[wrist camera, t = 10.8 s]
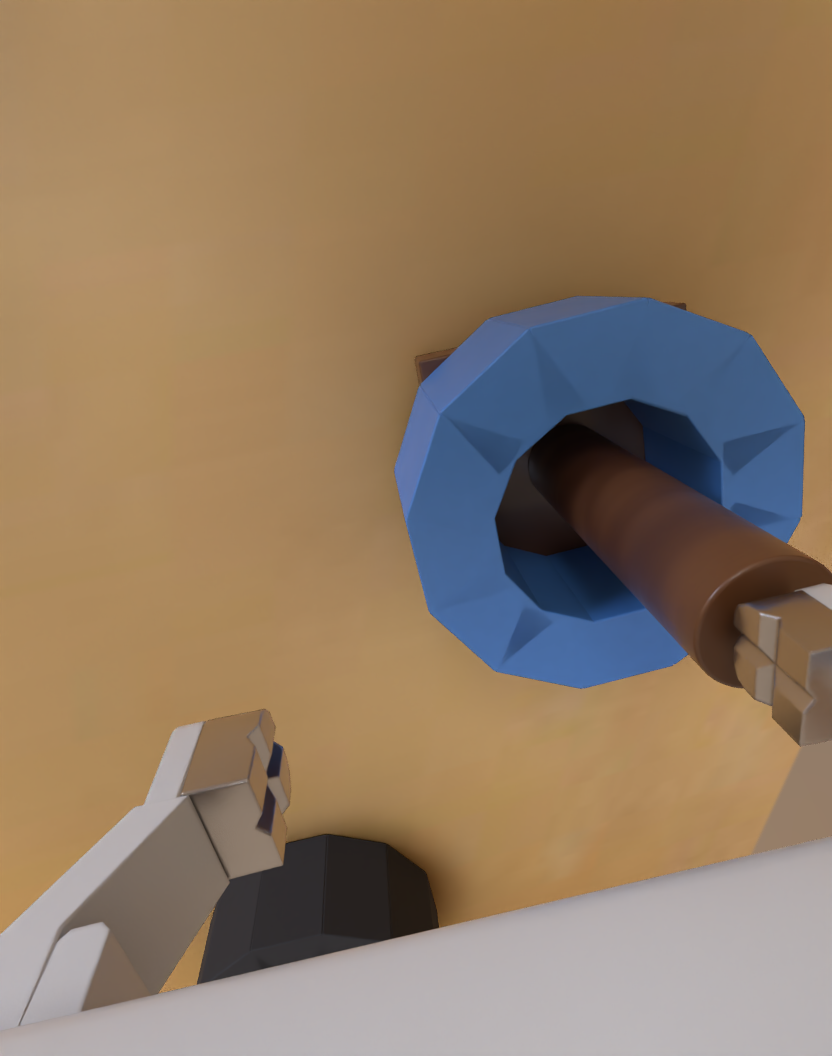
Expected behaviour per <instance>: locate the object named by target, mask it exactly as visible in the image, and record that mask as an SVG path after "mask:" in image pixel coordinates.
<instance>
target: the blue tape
mask: <svg viewBox="0 0 832 1056" xmlns="http://www.w3.org/2000/svg"><path fill="white" fill-rule="evenodd" d="M622 401H624V402H625V404H626V405H627V406H628V407H629V409H630V410H631V411H632V413H633V414H634V415H635V416H636V418H637V419H638V420H639V422H640V423H641V424H642V426H643V436H644V448H645V461H646V462H648V463H650V464H651V465H653V466H655V467H657V468H658V469H660V470H662V471H663V472H665V473H667V474H669V475H670V476H672V477H674V478H675V479H677V480H679V481H681V482H682V483H684V484H686V485H687V486H689V487H691V488H693V489H694V490H696V491H698V492H699V493H701V494H703V495H705V496H706V497H708V498H710V499H711V500H713V501H715V502H717V503H718V504H720V505H722V506H723V507H725V508H727V509H729V510H730V511H732V512H734V513H735V514H737V515H739V516H741V517H742V518H744V519H746V520H747V521H749V522H751V523H752V524H754V525H756V526H758V527H759V528H761V529H763V530H764V531H766V532H768V533H770V534H771V535H773V536H775V537H776V538H778V539H780V540H782V541H783V542H785V543H788V541H789V539H790V537H791V536H792V534H793V532H794V530H795V529H796V527H797V525H798V523H799V521H800V517H802V497H803V464H804V432H805V420H804V416H803V414H802V413H801V411H800V409H799V408H798V406H797V405H796V403H795V402H794V400H793V398H792V397H791V395H790V394H789V392H788V391H787V389H786V388H785V386H784V384H783V383H782V381H781V380H780V378H779V377H778V375H777V374H776V372H775V370H774V369H773V367H772V366H771V364H770V363H769V361H768V359H767V358H766V356H765V355H764V353H763V352H762V350H761V349H760V347H759V345H758V344H757V342H756V341H755V339H754V338H753V336H752V335H751V334H748V333H747V332H745V331H742V330H739V329H736V328H733V327H731V326H728V325H725V324H722V323H719V322H717V321H714V320H711V319H708V318H705V317H702V316H700V315H697V314H694V313H691V312H688V311H686V310H683V309H680V308H677V307H674V306H671V305H669V304H666V303H663V302H660V301H657V300H655V299H652V298H645V297H604V296H575V297H571V298H567V299H563V300H559V301H555V302H551V303H547V304H543V305H539V306H535V307H531V308H527V309H523V310H520V311H516V312H512V313H508V314H504V315H500V316H496V317H492V318H489V320H486V321H485V322H484V323H483V324H482V325H481V326H480V327H479V328H478V329H477V330H476V331H475V332H474V333H473V334H472V335H470V336H469V337H468V338H467V339H466V340H465V341H464V342H463V343H462V344H461V345H460V346H459V347H458V348H457V349H456V350H455V351H454V352H453V353H452V354H451V355H450V356H449V357H448V358H447V359H446V360H445V361H444V362H443V363H442V364H441V365H440V366H439V367H438V368H437V369H436V370H434V371H433V372H432V373H431V374H430V375H429V376H428V377H427V378H426V379H425V380H424V381H423V382H422V383H421V385H420V386H419V388H418V391H417V395H416V398H415V401H414V405H413V408H412V411H411V415H410V418H409V422H408V425H407V428H406V432H405V435H404V438H403V442H402V445H401V449H400V452H399V455H398V459H397V462H396V465H395V471H394V473H395V477H396V482H397V486H398V491H399V495H400V500H401V504H402V508H403V513H404V517H405V522H406V526H407V529H408V533H409V537H410V541H411V545H412V549H413V552H414V556H415V560H416V564H417V568H418V572H419V576H420V579H421V583H422V587H423V591H424V595H425V599H426V603H427V606H428V610H429V612H430V614H431V615H432V616H434V617H435V618H436V619H437V620H438V621H439V622H440V623H441V624H443V625H444V626H445V627H446V628H447V629H448V630H449V631H450V632H451V633H453V634H454V635H455V636H456V637H457V638H458V639H459V640H460V641H462V642H463V643H464V644H465V645H466V646H467V647H468V648H469V649H470V650H472V651H473V652H474V653H475V654H476V655H477V656H478V657H479V658H481V659H482V660H483V661H484V662H485V663H486V664H487V665H488V666H489V667H491V668H492V669H493V670H494V671H496V672H500V673H505V674H510V675H515V676H520V677H525V678H530V679H535V680H540V681H545V682H550V683H555V684H560V685H565V686H570V687H575V688H580V689H582V688H588V687H592V686H596V685H599V684H603V683H607V682H611V681H615V680H619V679H623V678H627V677H631V676H635V675H639V674H642V673H646V672H650V671H654V670H658V669H662V668H666V667H670V666H672V665H673V664H676V663H678V662H679V661H680V660H682V659H683V658H684V657H685V656H687V655H688V653H687V652H686V651H685V650H684V649H683V648H682V647H681V646H680V645H679V644H678V642H677V641H676V640H675V639H674V638H673V637H672V636H671V635H670V634H669V633H668V632H667V631H666V629H665V628H664V627H663V626H662V625H661V624H660V623H659V622H658V621H657V620H656V619H655V618H654V616H653V615H652V614H651V613H650V612H649V611H648V610H647V609H646V608H645V607H644V606H643V604H642V603H641V602H640V601H639V600H638V599H637V598H636V597H635V596H634V595H633V594H632V593H631V591H630V590H629V589H628V588H627V587H626V586H625V585H624V584H623V583H622V582H621V581H620V580H619V578H618V577H617V576H616V575H615V574H614V573H613V572H612V571H611V570H610V569H609V568H608V566H607V565H606V564H605V563H604V562H603V561H602V560H601V559H600V558H599V557H598V556H597V555H596V553H595V552H594V551H593V550H592V549H591V548H590V547H589V546H584V547H580V548H576V549H572V550H568V551H564V552H560V553H556V554H553V555H549V556H544V555H540V554H536V553H532V552H528V551H524V550H520V549H516V548H512V547H508V546H504V545H503V544H502V543H501V542H500V541H499V537H498V532H497V527H496V522H495V517H496V514H497V512H498V509H499V506H500V503H501V501H502V498H503V495H504V493H505V490H506V487H507V484H508V482H509V479H510V476H511V474H512V471H513V468H514V465H515V463H516V460H518V459H519V458H520V457H521V456H522V455H523V454H524V453H525V452H526V451H528V450H529V449H530V448H531V447H532V446H533V445H534V444H535V443H536V442H538V441H539V440H540V439H541V438H542V437H543V436H544V435H545V434H546V433H548V432H549V431H550V430H551V429H552V428H553V427H554V426H555V425H556V424H558V423H559V422H560V421H561V420H562V419H563V418H564V417H565V416H567V415H571V414H575V413H579V412H582V411H586V410H590V409H594V408H598V407H602V406H606V405H610V404H614V403H618V402H622Z"/></svg>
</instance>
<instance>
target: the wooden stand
mask: <svg viewBox="0 0 832 1056" xmlns="http://www.w3.org/2000/svg"><path fill="white" fill-rule="evenodd" d="M663 303H666V304H669V305H671V306H674V307H677V308H680V309H683V310H686V304H685V303H675V302H663ZM457 348H458V347H456V348H452V349H447V350H443V351H438V352H433V353H429V354H424V355H420V356H416V357H415V359H414V360H415V366H416V371H417V376H418V381H419V386H420V385H421V383H422V382H423V381H424V380H425V379H426V378H427V377H428V376H429V375H430V374H431V373H432V372H433V371H434V370H436V369H437V368H438V367H439V366H440V365H441V364H442V363H443V362H444V361H445V360H446V359H447V358H448V357H449V356H450V355H451V354H452V353H453V352H454V351H455V350H456V349H457ZM495 522H496V527H497V532H498V537H499V541H500V542H501V543H502V544H503V545H504V546H508V547H512V548H516V549H520V550H524V551H528V552H532V553H536V554H540V555H544V556H549V555H553V554H556V553H560V552H564V551H568V550H572V549H576V548H580V547H584V546H589V547H590V548H591V549H592V550H593V551H594V552H595V553H596V555H597V556H598V557H599V558H600V559H601V560H602V561H603V562H604V563H605V564H606V565H607V566H608V568H609V569H610V570H611V571H612V572H613V573H614V574H615V575H616V576H617V577H618V578H619V580H620V581H621V582H622V583H623V584H624V585H625V586H626V587H627V588H628V589H629V590H630V591H631V593H632V594H633V595H634V596H635V597H636V598H637V599H638V600H639V601H640V602H641V603H642V604H643V606H644V607H645V608H646V609H647V610H648V611H649V612H650V613H651V614H652V615H653V616H654V618H655V619H656V620H657V621H658V622H659V623H660V624H661V625H662V626H663V627H664V628H665V629H666V631H667V632H668V633H669V634H670V635H671V636H672V637H673V638H674V639H675V640H676V641H677V642H678V644H679V645H680V646H681V647H682V648H683V649H684V650H685V651H686V652H687V653H688V654H689V656H690V657H691V658H692V659H693V660H694V661H695V662H696V663H697V664H698V665H699V666H700V667H701V669H702V670H703V671H704V672H705V673H706V674H707V675H708V676H710V677H711V678H713V679H714V680H716V681H718V682H720V683H722V684H725V685H728V686H731V687H736V688H744V687H743V686H742V684H741V683H740V681H739V679H738V678H737V675H736V672H735V668H734V665H733V645H734V644H735V642H736V641H737V639H738V638H739V637H740V635H741V632H740V631H739V630H738V629H737V628H736V627H735V626H734V625H733V624H734V612H735V610H736V608H737V606H738V604H741V603H746V602H750V601H755V600H759V599H763V598H768V597H772V596H777V595H781V594H785V593H790V592H794V591H795V590H798V589H802V588H806V587H810V586H814V585H818V584H822V583H825V584H830V585H832V573H831V572H830V571H829V570H828V569H827V568H826V567H825V566H824V565H822V564H821V563H819V562H818V561H816V560H814V559H812V558H811V557H809V556H807V555H806V554H804V553H802V552H800V551H799V550H797V549H795V548H794V547H792V546H790V545H788V544H787V543H785V542H783V541H782V540H780V539H778V538H776V537H775V536H773V535H771V534H770V533H768V532H766V531H764V530H763V529H761V528H759V527H758V526H756V525H754V524H752V523H751V522H749V521H747V520H746V519H744V518H742V517H741V516H739V515H737V514H735V513H734V512H732V511H730V510H729V509H727V508H725V507H723V506H722V505H720V504H718V503H717V502H715V501H713V500H711V499H710V498H708V497H706V496H705V495H703V494H701V493H699V492H698V491H696V490H694V489H693V488H691V487H689V486H687V485H686V484H684V483H682V482H681V481H679V480H677V479H675V478H674V477H672V476H670V475H669V474H667V473H665V472H663V471H662V470H660V469H658V468H657V467H655V466H653V465H651V464H650V463H648V462H646V461H645V448H644V436H643V426H642V424H641V423H640V422H639V420H638V419H637V418H636V416H635V415H634V414H633V413H632V411H631V410H630V409H629V407H628V406H627V405H626V404H625V402H624V401H622V402H618V403H614V404H610V405H606V406H602V407H598V408H594V409H590V410H586V411H582V412H579V413H575V414H571V415H567V416H565V417H564V418H563V419H562V420H561V421H560V422H559V423H558V424H556V425H555V426H554V427H553V428H552V429H551V430H550V431H549V432H548V433H546V434H545V435H544V436H543V437H542V438H541V439H540V440H539V441H538V442H536V443H535V444H534V445H533V446H532V447H531V448H530V449H529V450H528V451H526V452H525V453H524V454H523V455H522V456H521V457H520V458H519V459H518V460H516V463H515V465H514V468H513V471H512V474H511V476H510V479H509V482H508V484H507V487H506V490H505V493H504V495H503V498H502V501H501V503H500V506H499V509H498V512H497V514H496V517H495Z"/></svg>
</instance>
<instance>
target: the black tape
mask: <svg viewBox="0 0 832 1056" xmlns="http://www.w3.org/2000/svg"><path fill="white" fill-rule="evenodd" d="M229 882H230V883H229V885H228V886H227V888H226V889H225V891H224V892H223V894H222V895H221V897H220V898H219V900H218V902H217V904H216V907H215V910H214V914H213V917H212V920H211V924H210V928H209V933H208V937H207V941H206V946H205V950H204V955H203V959H202V964H201V968H200V972H199V977H198V981H197V985H198V984H202V983H206V982H210V981H215V980H219V979H223V978H227V977H232V976H236V975H240V974H244V973H249V972H253V971H257V970H262V969H266V968H270V967H274V966H279V965H283V964H287V963H291V962H296V961H300V960H304V959H308V958H313V957H317V956H321V955H326V954H330V953H334V952H338V951H343V950H347V949H351V948H355V947H360V946H364V945H368V944H372V943H377V942H381V941H385V940H390V939H394V938H398V937H402V936H407V935H411V934H415V933H419V932H424V931H428V930H432V929H436V928H439V924H438V917H437V910H436V906H435V903H434V899H433V896H432V892H431V888H430V885H429V881H428V878H427V874H426V873H425V871H423V870H422V869H421V868H419V867H418V866H416V865H415V864H414V863H412V862H411V861H410V860H408V859H407V858H405V857H404V856H403V855H401V854H400V853H398V852H397V851H396V850H394V849H393V848H391V847H390V846H389V845H387V844H385V843H379V842H373V841H366V840H360V839H354V838H347V837H341V836H335V835H322V836H317V837H313V838H309V839H304V840H300V841H296V842H291V843H287V844H285V853H284V861H283V866H279V867H275V868H271V869H267V870H263V871H260V872H256V873H252V874H248V875H244V876H240V877H236V878H233V879H229Z"/></svg>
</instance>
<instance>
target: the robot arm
mask: <svg viewBox="0 0 832 1056" xmlns="http://www.w3.org/2000/svg"><path fill="white" fill-rule="evenodd" d="M733 625H734V626H735V627H736V628H737V629H738V630H739V631H740V632H741V635H740V637H739V638H738V639H737V641H736V642H735V644H734V645H733V665H734V668H735V672H736V675H737V678H738V679H739V681H740V683H741V684H742V686H743V687H744V689H745V690H746V691H747V692H748V693H749V694H750V695H751V697H752V698H753V699H754V700H757V701H760V702H762V703H765V704H767V705H770V706H772V718H773V719H774V720H775V721H776V722H777V723H778V724H779V725H780V726H781V727H782V728H783V729H784V730H785V731H786V732H787V733H788V735H789V736H790V737H791V738H792V739H793V740H794V741H795V742H796V743H797V744H798V745H799V746H800V747H801V746H806V745H811V744H816V743H821V742H826V741H831V740H832V585H830V584H825V583H822V584H818V585H814V586H810V587H806V588H802V589H798V590H795V591H794V592H790V593H785V594H781V595H777V596H772V597H768V598H763V599H759V600H755V601H750V602H746V603H741V604H738V606H737V608H736V610H735V612H734V624H733ZM275 728H276V727H275V724H274V722H273V719H272V717H271V714H270V712H269V711H267V710H266V709H262V710H257V711H252V712H247V713H242V714H237V715H232V716H227V717H222V718H217V719H212V720H208V721H203V722H198V723H193V724H189V725H184V726H179V727H178V728H176V729H175V730H174V731H173V732H172V734H171V736H170V739H169V741H168V744H167V746H166V749H165V752H164V754H163V757H162V759H161V762H160V764H159V767H158V769H157V772H156V775H155V777H154V780H153V782H152V785H151V787H150V790H149V793H148V795H147V798H146V800H145V803H144V805H142V806H137V807H134V808H133V809H132V810H131V811H130V812H129V813H128V814H127V815H126V816H125V817H123V818H122V819H121V820H120V821H119V822H118V823H117V824H116V825H115V826H114V827H113V828H112V829H111V830H110V831H109V832H108V833H107V834H106V835H105V836H103V837H102V838H101V839H100V840H99V841H98V842H97V843H96V844H95V845H94V846H93V847H92V848H91V849H90V850H89V851H88V852H87V853H86V854H85V855H83V856H82V857H81V858H80V859H79V860H78V861H77V862H76V863H75V864H74V865H73V866H72V867H71V868H70V869H69V870H68V871H67V872H66V873H65V874H64V875H62V876H61V877H60V878H59V879H58V880H57V881H56V882H55V883H54V884H53V885H52V886H51V887H50V888H49V889H48V890H47V891H46V892H45V893H44V894H42V895H41V896H40V897H39V898H38V899H37V900H36V901H35V902H34V903H33V904H32V905H31V906H30V907H29V908H28V909H27V910H26V911H25V912H24V913H22V914H21V915H20V916H19V917H18V918H17V919H16V920H15V921H14V922H13V923H12V924H11V925H10V926H9V927H8V928H7V929H6V930H5V931H4V932H2V933H1V934H0V1056H832V836H830V837H825V838H821V839H816V840H812V841H808V842H804V843H800V844H795V845H791V846H786V847H782V848H778V849H774V850H770V851H765V852H761V853H757V854H752V855H748V856H744V857H739V858H735V859H731V860H727V861H722V862H718V863H714V864H709V865H705V866H701V867H697V868H692V869H688V870H684V871H680V872H675V873H671V874H667V875H663V876H658V877H654V878H650V879H645V880H641V881H637V882H633V883H628V884H624V885H620V886H616V887H611V888H607V889H603V890H599V891H594V892H590V893H586V894H581V895H577V896H573V897H569V898H564V899H560V900H556V901H552V902H547V903H543V904H539V905H535V906H530V907H526V908H522V909H517V910H513V911H509V912H505V913H500V914H496V915H492V916H488V917H483V918H479V919H475V920H471V921H466V922H462V923H458V924H453V925H449V926H445V927H441V928H436V929H432V930H428V931H424V932H419V933H415V934H411V935H407V936H402V937H398V938H394V939H390V940H385V941H381V942H377V943H372V944H368V945H364V946H360V947H355V948H351V949H347V950H343V951H338V952H334V953H330V954H326V955H321V956H317V957H313V958H308V959H304V960H300V961H296V962H291V963H287V964H283V965H279V966H274V967H270V968H266V969H262V970H257V971H253V972H249V973H244V974H240V975H236V976H232V977H227V978H223V979H219V980H215V981H210V982H206V983H202V984H198V985H193V986H189V987H185V988H180V989H176V990H172V991H168V992H163V993H159V991H160V990H161V988H162V987H163V985H164V984H165V982H166V980H167V979H168V977H169V976H170V974H171V973H172V971H173V970H174V968H175V967H176V965H177V963H178V962H179V960H180V959H181V957H182V956H183V954H184V953H185V951H186V950H187V948H188V946H189V945H190V943H191V942H192V940H193V939H194V937H195V936H196V934H197V933H198V931H199V929H200V928H201V926H202V925H203V923H204V922H205V920H206V919H207V917H208V915H209V914H210V912H211V911H212V909H213V908H214V906H215V905H216V903H217V902H218V900H219V898H220V897H221V895H222V894H223V892H224V891H225V889H226V888H227V886H228V885H229V883H230V882H229V879H233V878H236V877H240V876H244V875H248V874H252V873H256V872H260V871H263V870H267V869H271V868H275V867H279V866H283V861H284V853H285V844H286V835H287V826H286V823H285V821H284V818H283V815H282V814H283V813H284V812H285V810H286V809H287V808H288V806H289V805H290V797H291V780H290V770H289V765H288V761H287V757H286V754H285V751H284V748H283V747H282V746H281V745H279V744H277V743H276V742H274V735H275ZM158 993H159V994H158Z"/></svg>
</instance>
